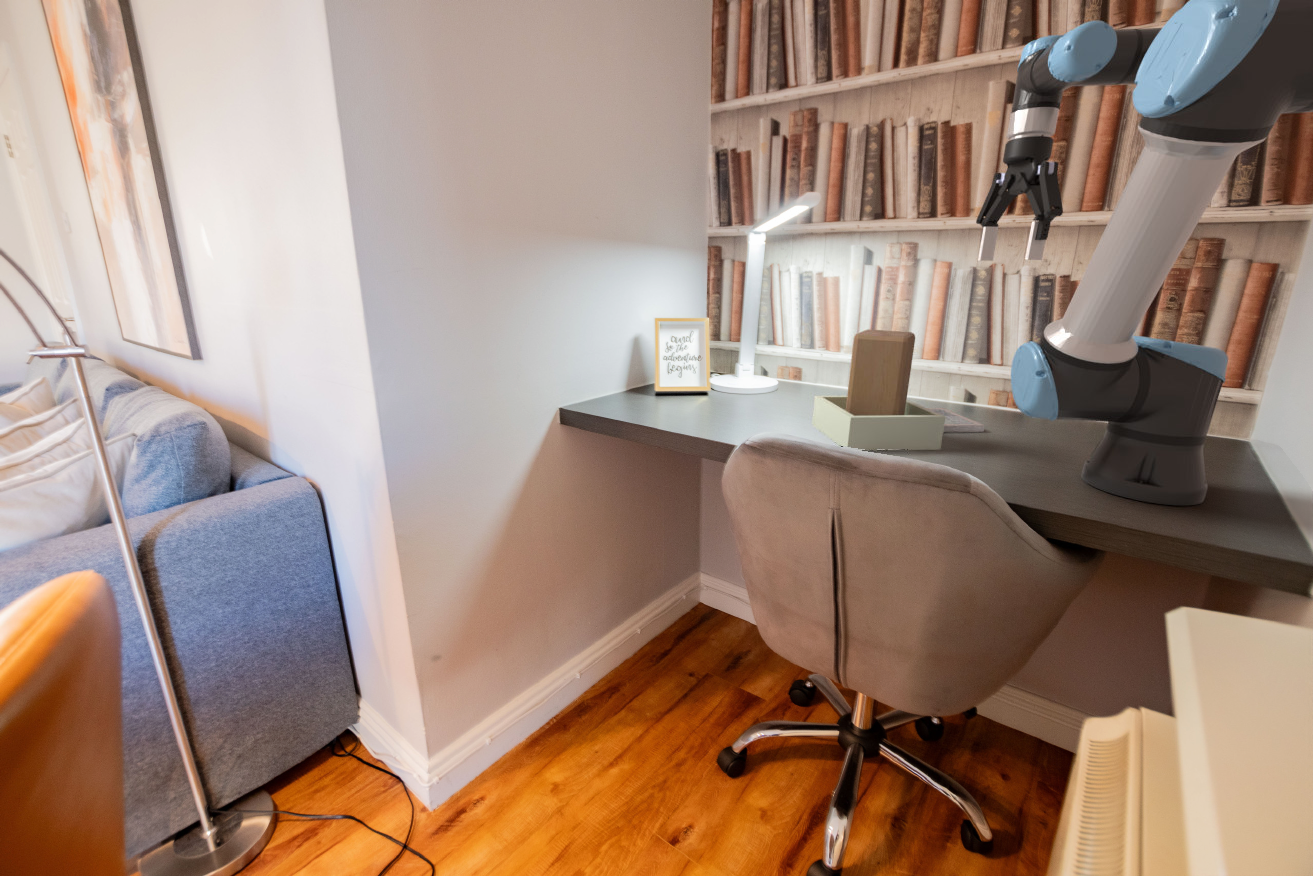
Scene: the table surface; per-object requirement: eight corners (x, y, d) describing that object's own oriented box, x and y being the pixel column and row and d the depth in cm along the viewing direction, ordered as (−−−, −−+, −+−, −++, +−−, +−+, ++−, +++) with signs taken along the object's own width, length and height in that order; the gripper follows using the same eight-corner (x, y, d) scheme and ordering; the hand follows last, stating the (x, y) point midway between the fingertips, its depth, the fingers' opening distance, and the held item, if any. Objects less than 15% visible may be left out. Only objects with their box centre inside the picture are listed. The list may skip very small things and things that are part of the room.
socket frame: (983, 432, 121) (984, 425, 120) (914, 432, 119) (915, 425, 119) (941, 414, 136) (942, 408, 135) (879, 414, 134) (880, 408, 134)
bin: (940, 449, 108) (945, 416, 107) (846, 451, 107) (850, 417, 105) (892, 424, 126) (896, 395, 124) (812, 425, 124) (814, 395, 122)
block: (902, 430, 118) (916, 331, 112) (895, 441, 109) (909, 336, 104) (852, 423, 123) (863, 328, 117) (842, 433, 114) (853, 332, 109)
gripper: (1106, 123, 93) (1077, 259, 99) (1003, 152, 117) (984, 261, 123) (1063, 121, 92) (1036, 258, 98) (968, 151, 116) (951, 260, 122)
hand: (1007, 260), depth 111 cm, fingers open, 13 cm apart
